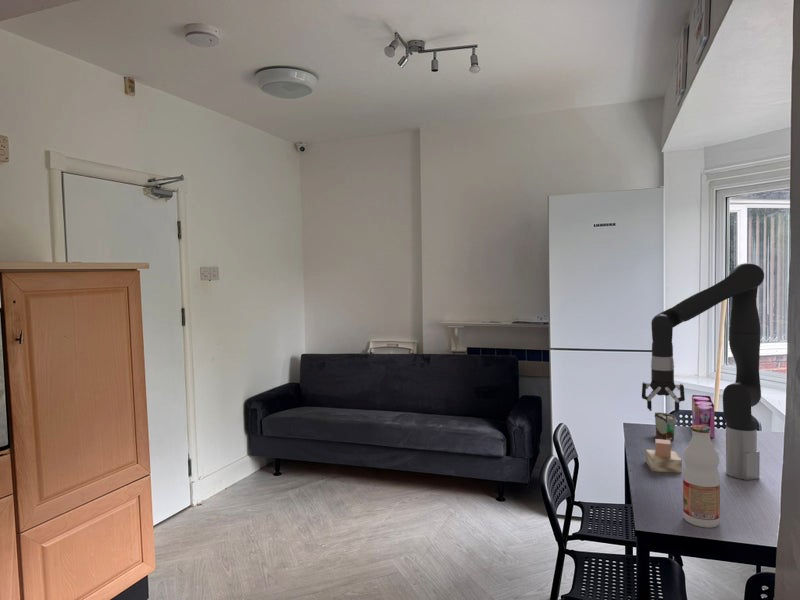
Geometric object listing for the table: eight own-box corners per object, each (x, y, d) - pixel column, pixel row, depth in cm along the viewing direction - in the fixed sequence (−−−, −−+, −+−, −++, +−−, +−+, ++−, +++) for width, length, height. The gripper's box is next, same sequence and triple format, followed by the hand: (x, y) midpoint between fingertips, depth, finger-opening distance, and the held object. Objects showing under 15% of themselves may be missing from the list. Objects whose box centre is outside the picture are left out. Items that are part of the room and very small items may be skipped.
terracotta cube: (670, 453, 199) (670, 440, 199) (670, 457, 194) (670, 444, 194) (655, 451, 201) (655, 438, 201) (655, 456, 196) (655, 442, 196)
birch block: (674, 463, 202) (674, 450, 201) (681, 473, 192) (681, 460, 192) (645, 462, 204) (645, 449, 204) (651, 471, 194) (651, 458, 194)
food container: (682, 442, 224) (682, 419, 224) (667, 443, 224) (667, 419, 224) (668, 433, 237) (668, 411, 236) (654, 434, 237) (654, 412, 236)
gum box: (715, 439, 228) (715, 408, 227) (694, 437, 231) (694, 406, 231) (710, 424, 249) (710, 395, 248) (691, 422, 253) (691, 394, 252)
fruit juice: (704, 531, 149) (704, 433, 148) (675, 517, 158) (675, 425, 156) (727, 524, 152) (727, 429, 151) (698, 511, 161) (698, 420, 160)
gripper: (683, 367, 197) (683, 410, 197) (641, 365, 202) (641, 407, 203) (685, 370, 190) (685, 415, 190) (641, 369, 195) (642, 412, 196)
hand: (663, 411), depth 197 cm, fingers open, 8 cm apart
